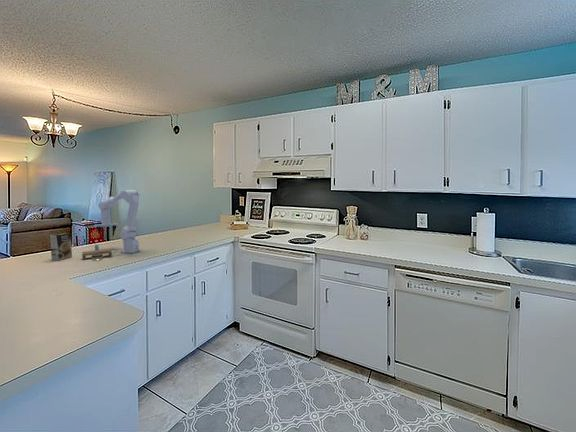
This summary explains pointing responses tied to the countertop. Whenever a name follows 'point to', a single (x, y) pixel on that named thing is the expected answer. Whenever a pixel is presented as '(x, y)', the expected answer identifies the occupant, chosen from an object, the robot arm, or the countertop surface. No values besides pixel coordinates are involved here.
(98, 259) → the puck
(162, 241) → the countertop surface
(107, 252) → the wooden stand
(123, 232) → the robot arm
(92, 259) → the scraper
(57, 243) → the coffee box
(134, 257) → the countertop surface
